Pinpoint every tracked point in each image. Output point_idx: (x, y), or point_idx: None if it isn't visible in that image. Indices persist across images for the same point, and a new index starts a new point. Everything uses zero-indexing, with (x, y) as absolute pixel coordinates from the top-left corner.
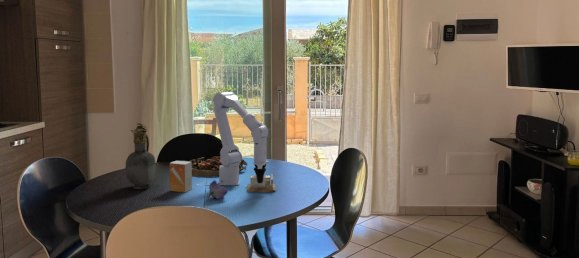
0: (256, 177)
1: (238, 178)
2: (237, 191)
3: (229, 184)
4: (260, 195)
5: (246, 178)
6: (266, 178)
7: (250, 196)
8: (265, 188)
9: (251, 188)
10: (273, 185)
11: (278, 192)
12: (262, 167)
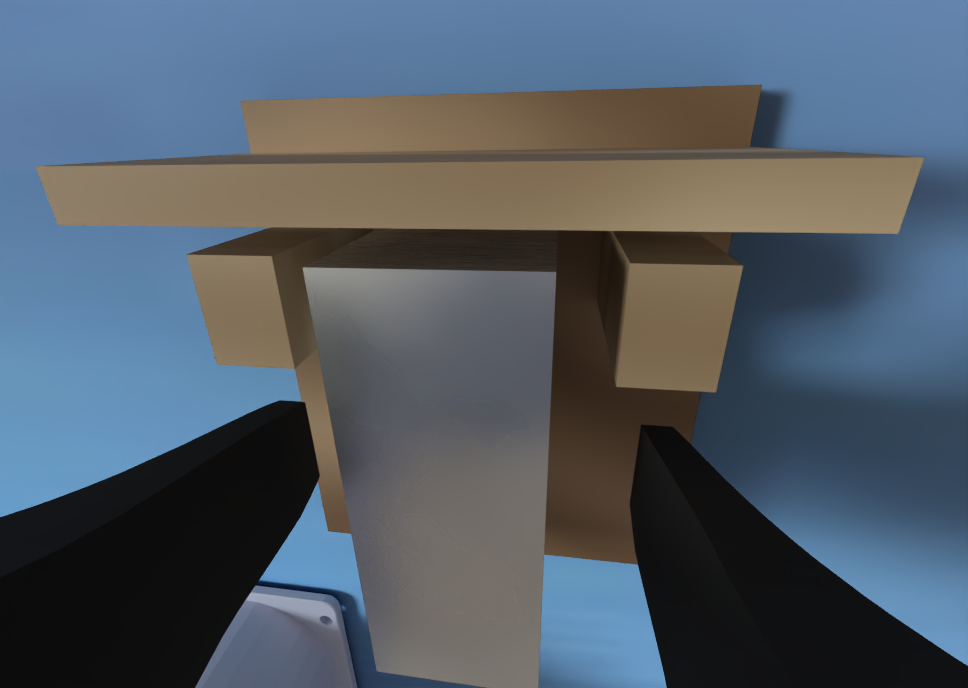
0: (541, 602)
1: (230, 658)
2: (613, 627)
3: (351, 678)
4: (930, 383)
5: (7, 502)
6: (549, 368)
7: (933, 520)
8: (586, 302)
9: (568, 506)
10: (354, 138)
11: (807, 8)
12: (39, 661)
